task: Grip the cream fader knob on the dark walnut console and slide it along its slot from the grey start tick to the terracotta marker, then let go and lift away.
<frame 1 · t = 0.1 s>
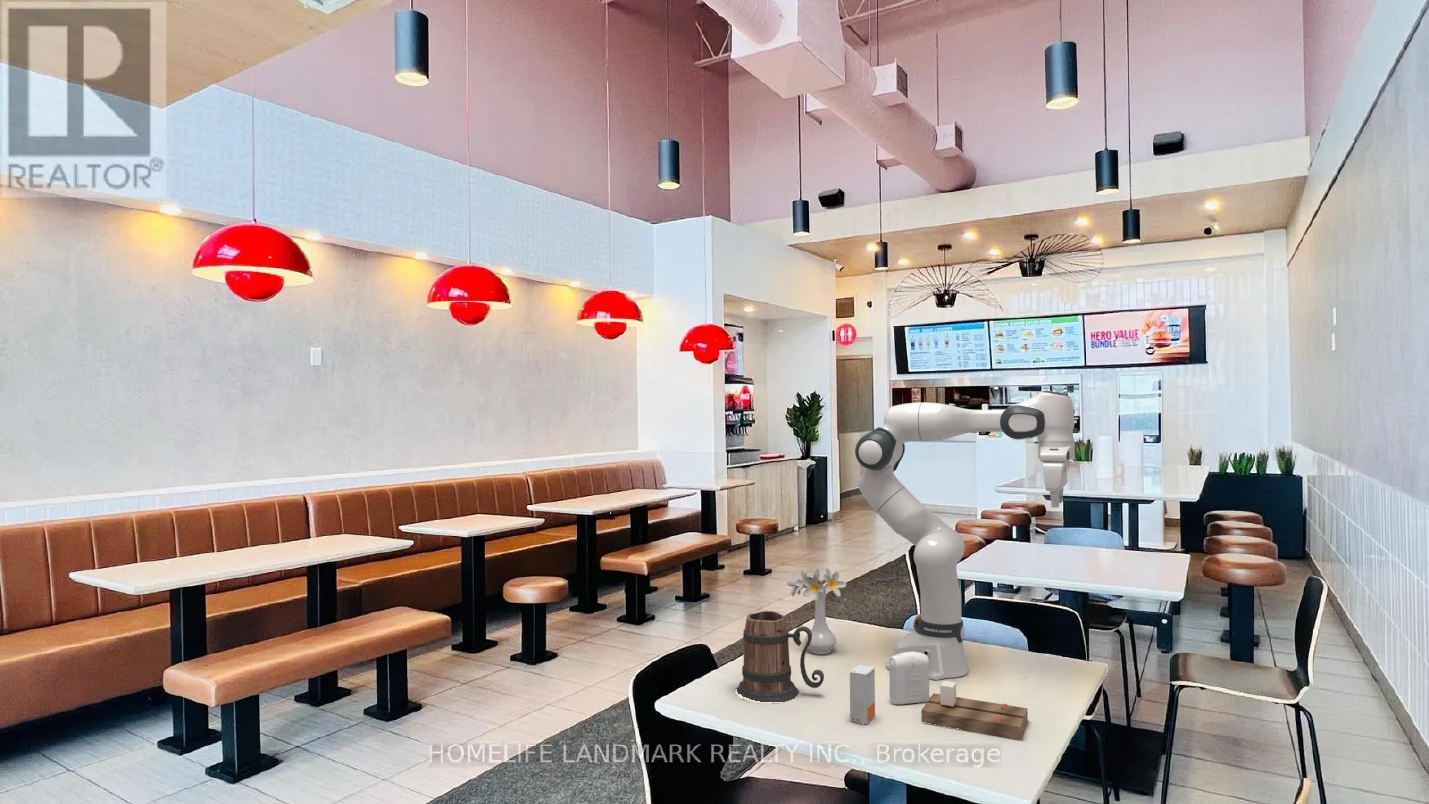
hand: (1057, 505, 209), 48 cm above the table, tool pointing down, fingers open, 8 cm apart
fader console: (974, 721, 188), on the table
skincare box: (863, 720, 190), on the table
flower vase: (818, 652, 241), on the table
tankard: (779, 693, 208), on the table
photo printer: (909, 702, 201), on the table
fader knob: (948, 697, 190), point 5 cm above the table, slide at -6.0 cm
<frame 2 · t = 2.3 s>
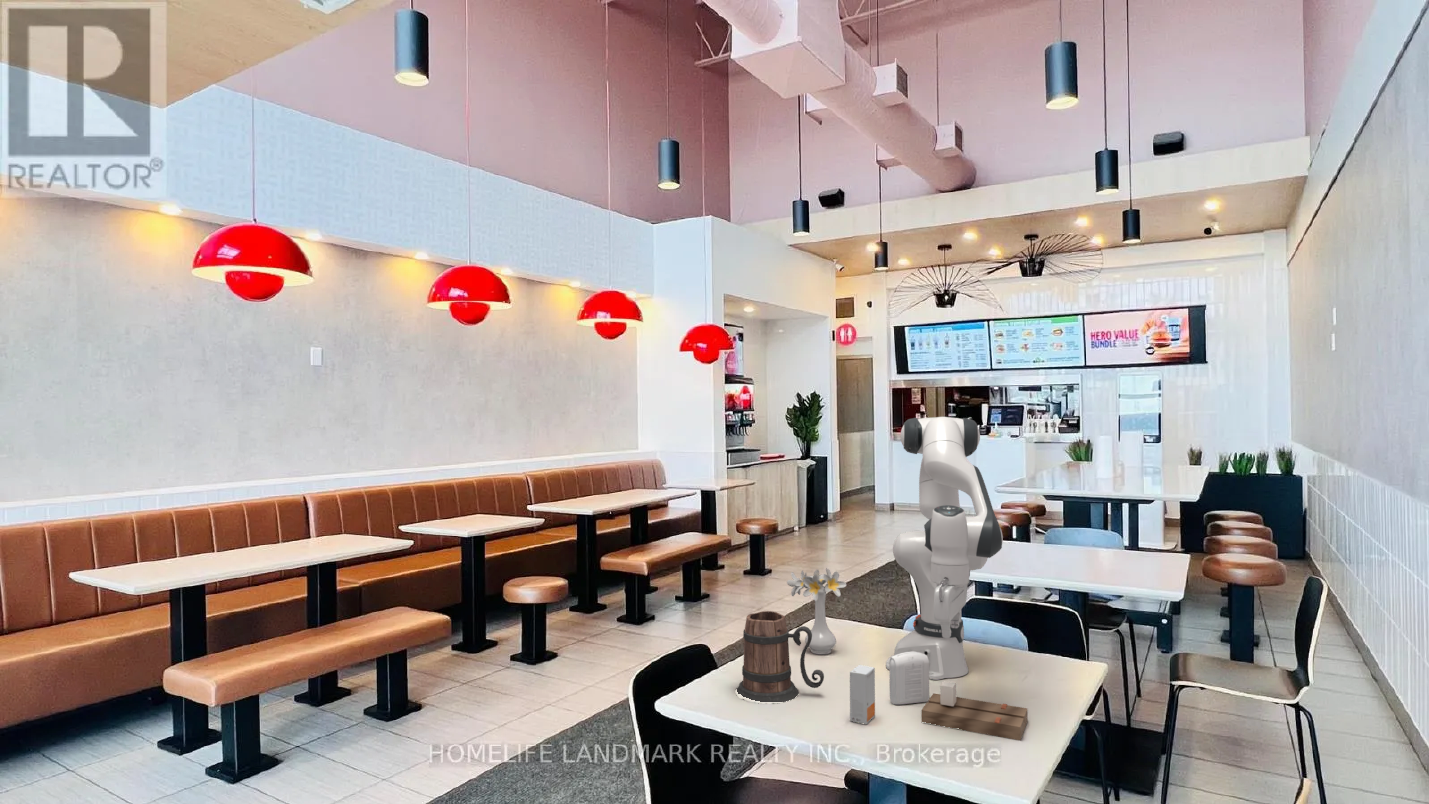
hand: (950, 632, 190), 20 cm above the table, tool pointing down, fingers open, 8 cm apart
nothing on the table moved.
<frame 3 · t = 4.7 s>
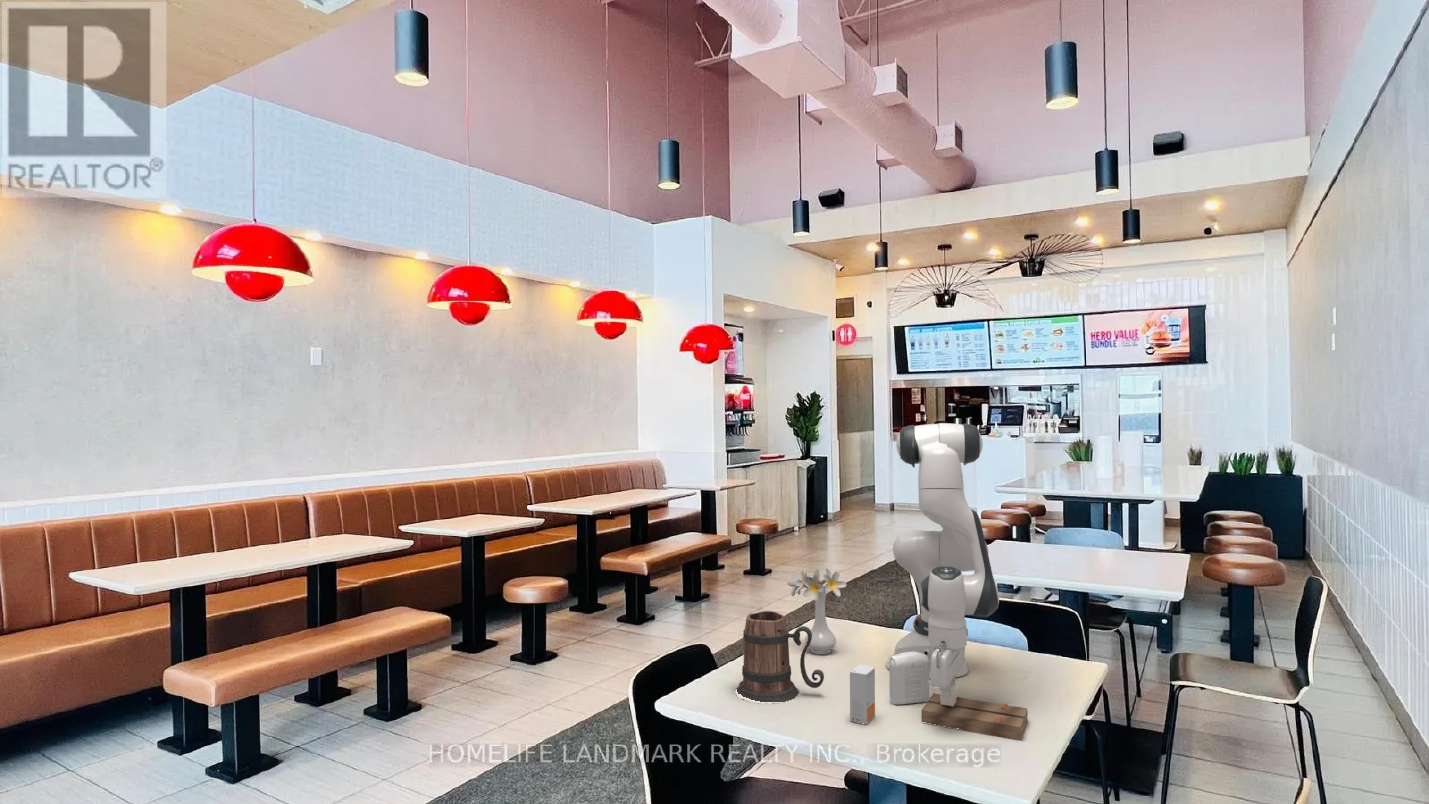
hand: (948, 694, 190), 6 cm above the table, tool pointing down, fingers closed on fader knob, 3 cm apart
fader knob: (948, 697, 190), point 5 cm above the table, slide at -6.0 cm, touching gripper
everything else where it was.
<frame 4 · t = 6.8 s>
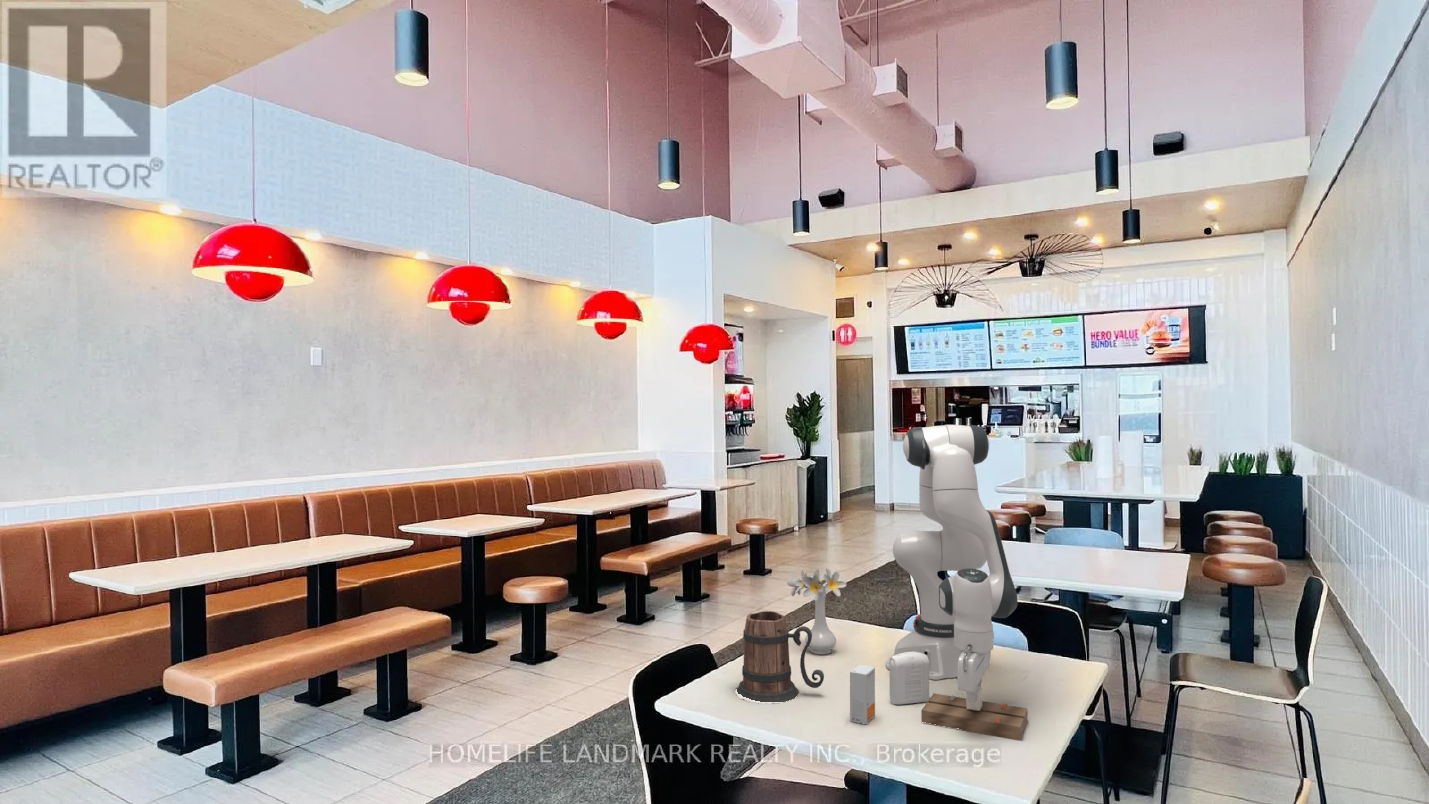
hand: (974, 698, 188), 6 cm above the table, tool pointing down, fingers closed on fader knob, 3 cm apart
fader knob: (974, 701, 188), point 5 cm above the table, slide at 0.0 cm, touching gripper
everything else where it was.
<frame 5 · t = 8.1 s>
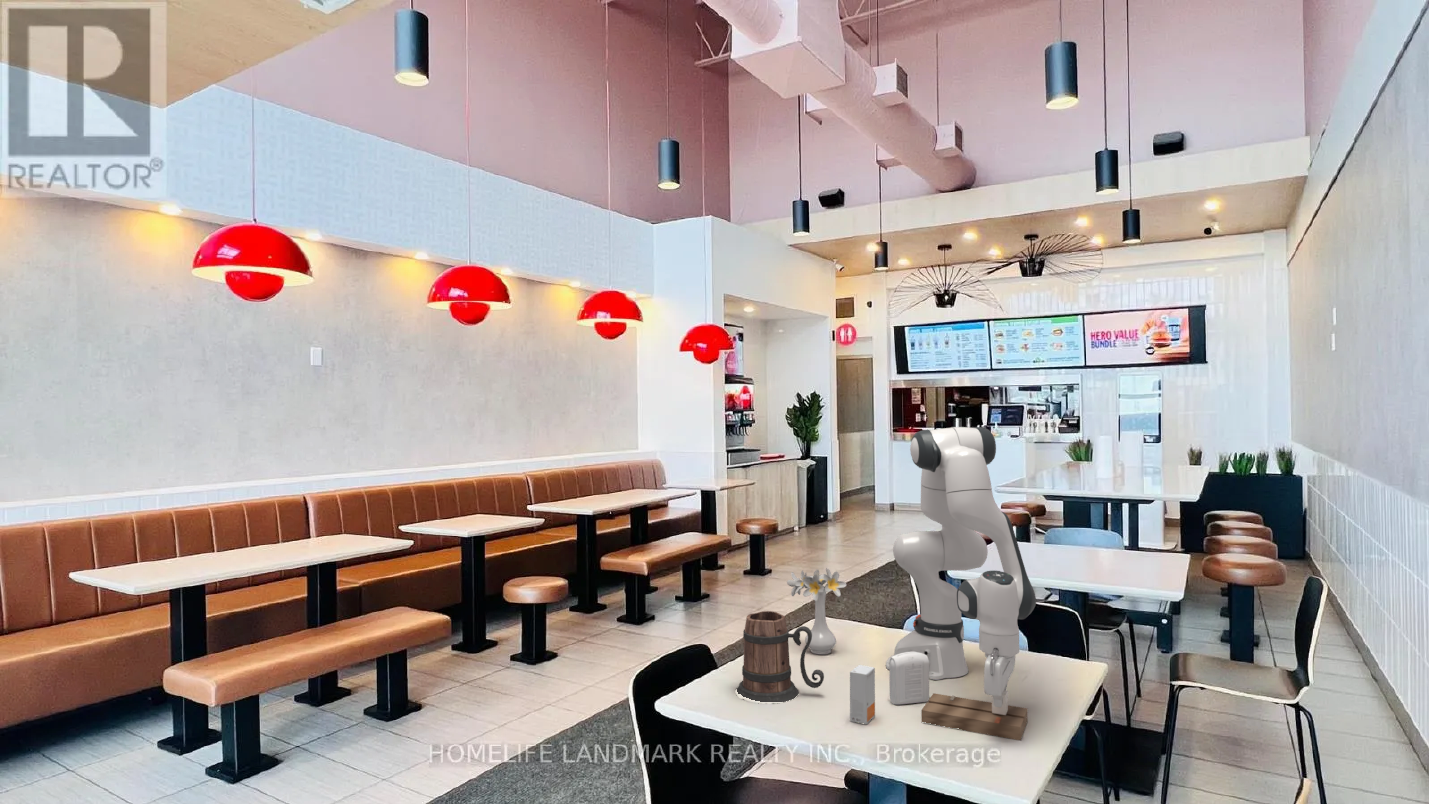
hand: (1000, 702, 185), 6 cm above the table, tool pointing down, fingers closed on fader knob, 3 cm apart
fader knob: (1000, 705, 185), point 5 cm above the table, slide at 5.8 cm, touching gripper
everything else where it was.
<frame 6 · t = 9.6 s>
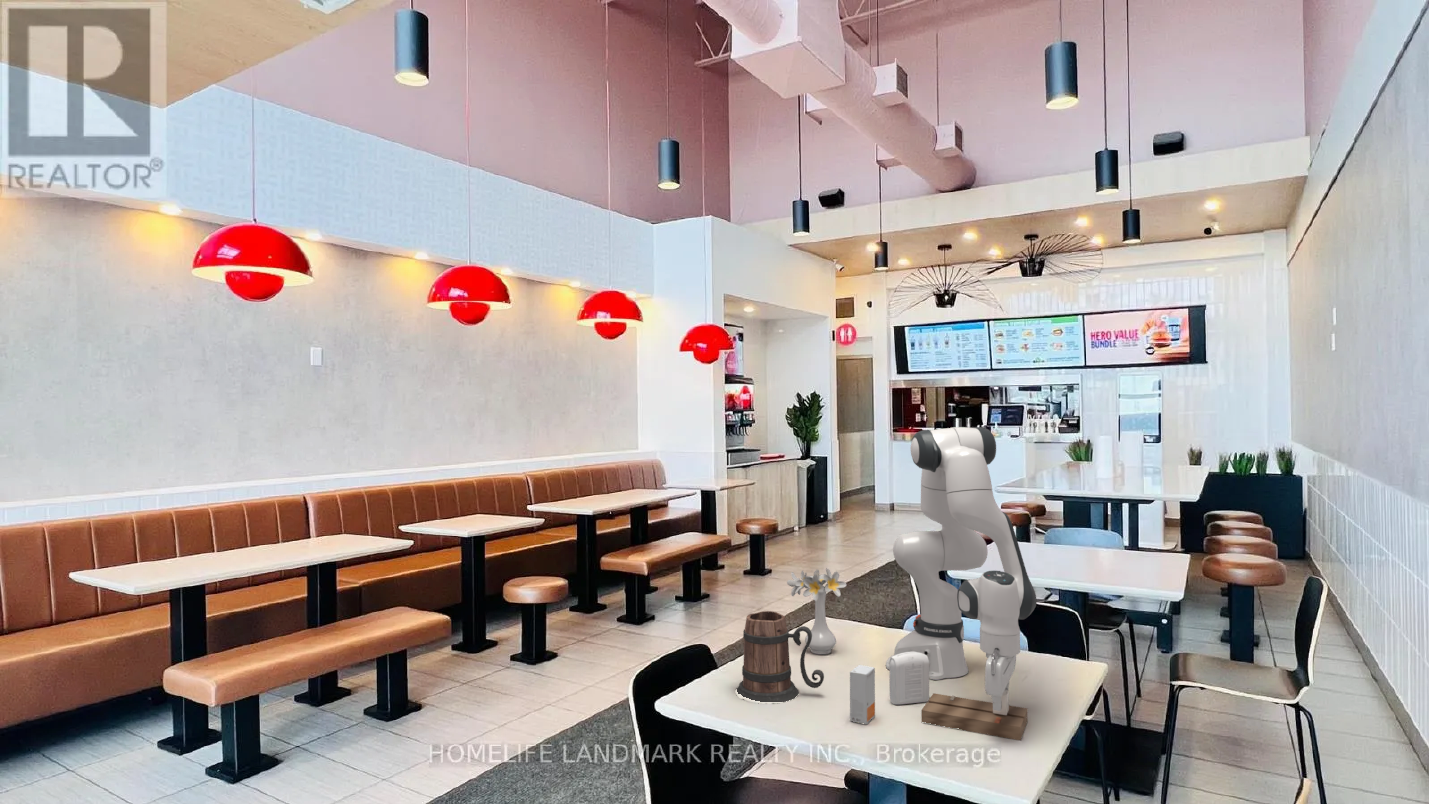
hand: (1000, 702, 185), 6 cm above the table, tool pointing down, fingers open, 8 cm apart
fader knob: (1000, 705, 185), point 5 cm above the table, slide at 6.0 cm
everything else where it was.
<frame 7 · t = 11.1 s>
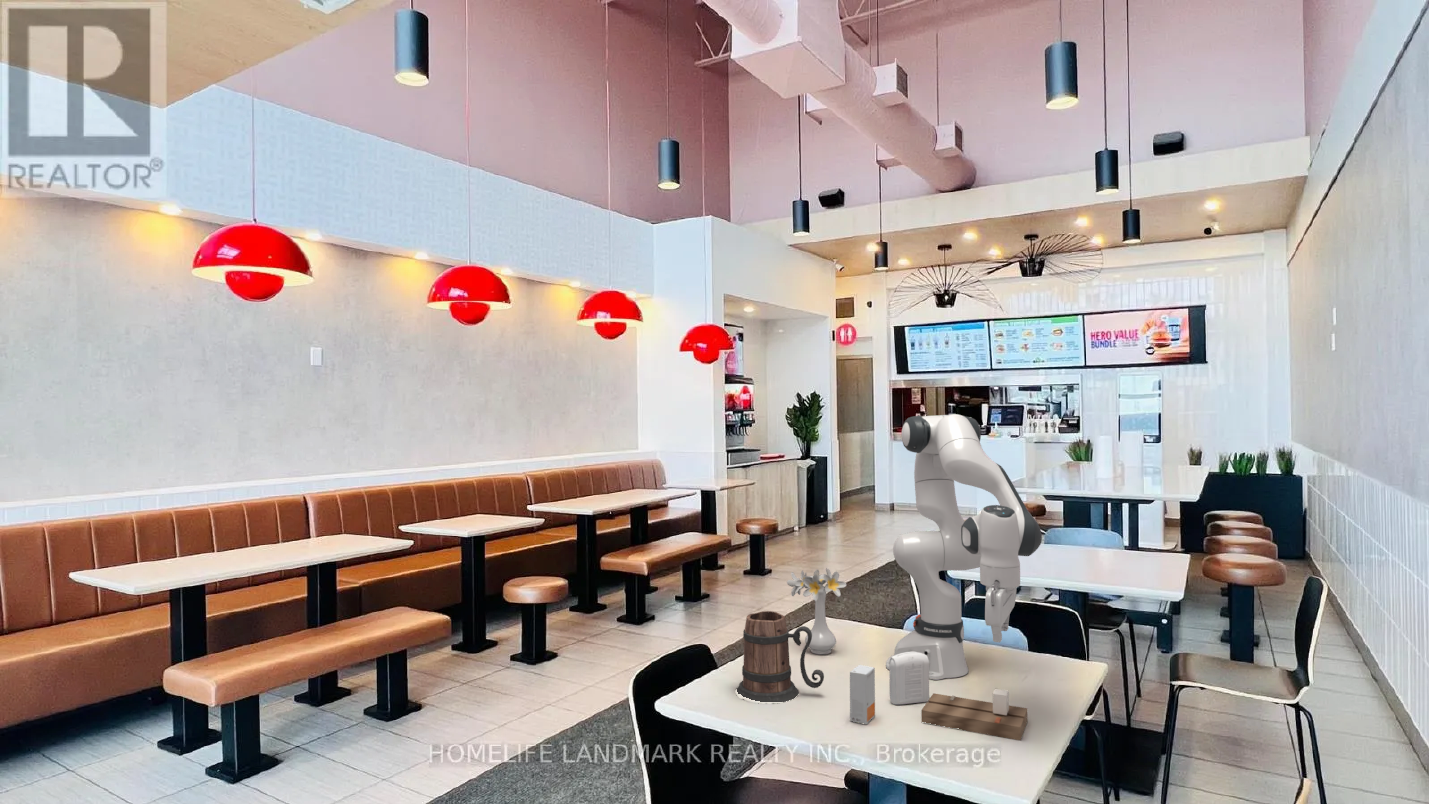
hand: (1000, 635, 185), 21 cm above the table, tool pointing down, fingers open, 8 cm apart
nothing on the table moved.
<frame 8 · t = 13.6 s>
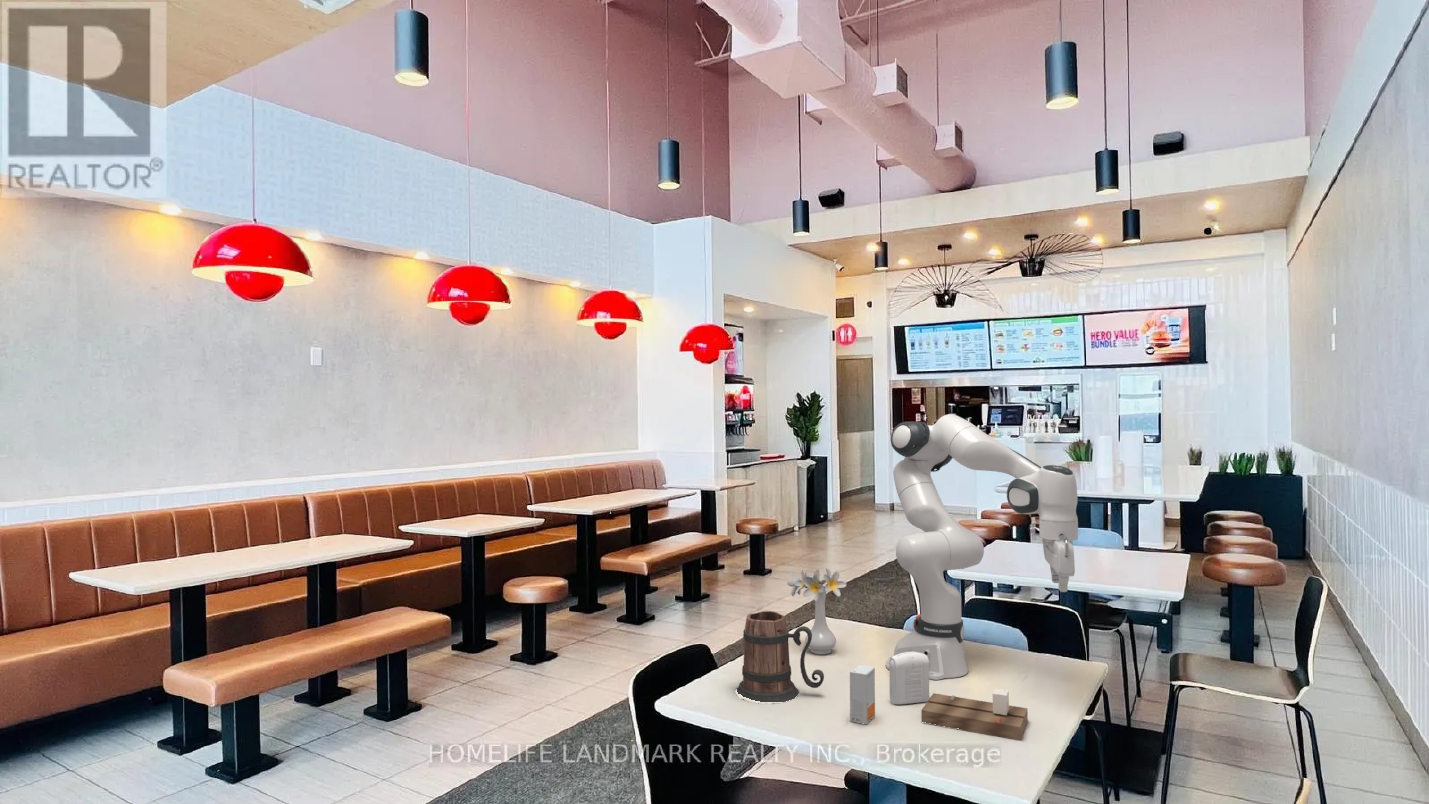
hand: (1059, 586, 198), 29 cm above the table, tool pointing down, fingers open, 8 cm apart
nothing on the table moved.
at the end: fader knob slide at 6.0 cm; the gripper is holding nothing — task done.
